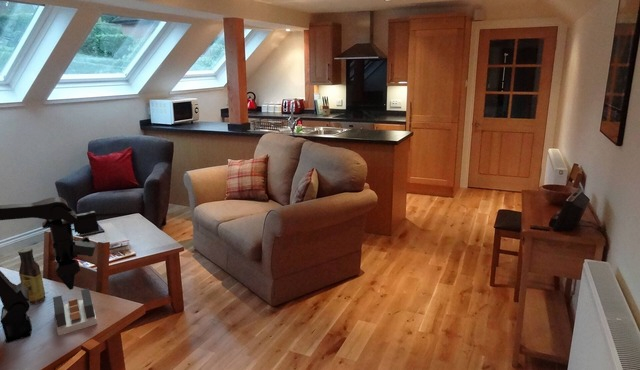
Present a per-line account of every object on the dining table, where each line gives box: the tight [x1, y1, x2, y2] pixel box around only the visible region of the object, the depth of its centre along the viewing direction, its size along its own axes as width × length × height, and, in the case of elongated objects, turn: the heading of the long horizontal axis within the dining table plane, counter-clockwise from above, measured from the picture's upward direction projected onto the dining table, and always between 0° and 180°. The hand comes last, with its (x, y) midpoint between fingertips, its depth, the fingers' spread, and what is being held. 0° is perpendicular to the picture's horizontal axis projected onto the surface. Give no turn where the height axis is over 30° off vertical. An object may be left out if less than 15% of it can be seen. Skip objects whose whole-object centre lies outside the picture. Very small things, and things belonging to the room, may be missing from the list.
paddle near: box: [70, 311, 81, 320], centre depth 143 cm, size 3×1×2 cm, turn 122°
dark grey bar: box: [52, 295, 66, 328], centre depth 144 cm, size 2×12×4 cm, turn 32°
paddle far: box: [67, 297, 79, 307], centre depth 150 cm, size 3×1×2 cm, turn 122°
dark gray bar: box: [80, 287, 96, 319], centre depth 148 cm, size 2×12×4 cm, turn 32°
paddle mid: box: [69, 305, 79, 313], centre depth 146 cm, size 3×1×2 cm, turn 122°
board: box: [56, 299, 98, 336], centre depth 147 cm, size 15×11×2 cm
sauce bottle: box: [18, 246, 46, 305], centre depth 155 cm, size 7×6×20 cm
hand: (70, 282), depth 143 cm, fingers open, 9 cm apart
